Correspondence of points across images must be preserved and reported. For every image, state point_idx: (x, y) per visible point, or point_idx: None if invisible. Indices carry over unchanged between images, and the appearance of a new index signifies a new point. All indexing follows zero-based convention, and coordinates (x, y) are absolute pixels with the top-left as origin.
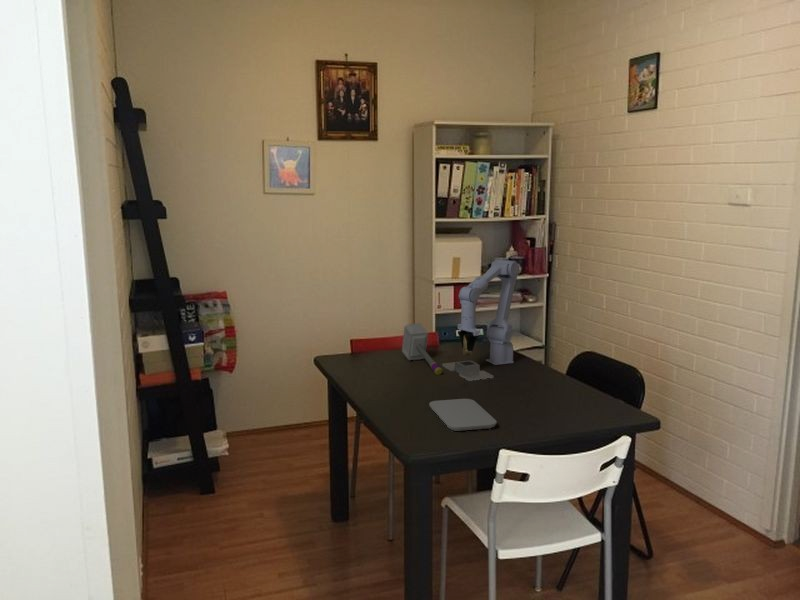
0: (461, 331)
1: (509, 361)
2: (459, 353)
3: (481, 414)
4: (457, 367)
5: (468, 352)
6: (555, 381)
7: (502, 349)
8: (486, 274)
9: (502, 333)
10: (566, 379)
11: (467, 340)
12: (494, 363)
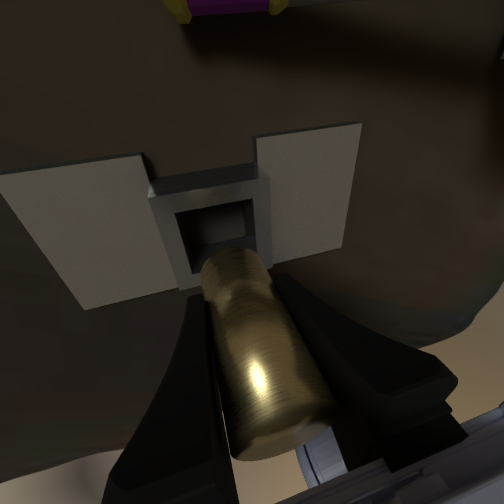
0: (416, 411)
1: None
2: (442, 251)
3: None
4: (227, 174)
5: (203, 289)
6: (53, 440)
7: None
8: None
9: (318, 479)
10: (80, 453)
11: (159, 397)
12: None
